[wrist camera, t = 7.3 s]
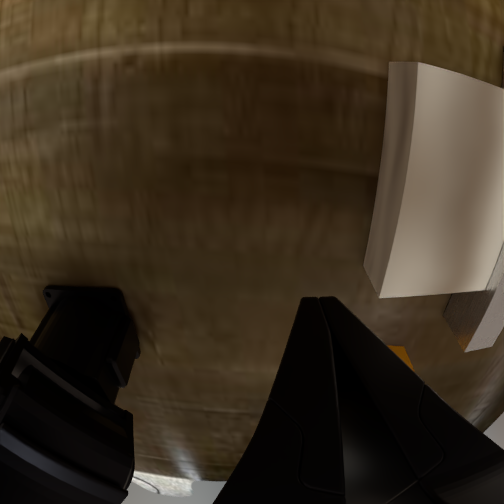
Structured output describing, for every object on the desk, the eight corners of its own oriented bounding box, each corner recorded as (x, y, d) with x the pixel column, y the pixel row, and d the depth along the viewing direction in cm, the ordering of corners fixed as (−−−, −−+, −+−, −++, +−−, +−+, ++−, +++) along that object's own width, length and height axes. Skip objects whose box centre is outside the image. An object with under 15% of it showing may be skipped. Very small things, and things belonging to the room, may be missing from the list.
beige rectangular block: (361, 262, 19) (378, 298, 16) (386, 61, 13) (418, 62, 10) (460, 260, 19) (484, 290, 16) (496, 92, 13) (534, 102, 10)
